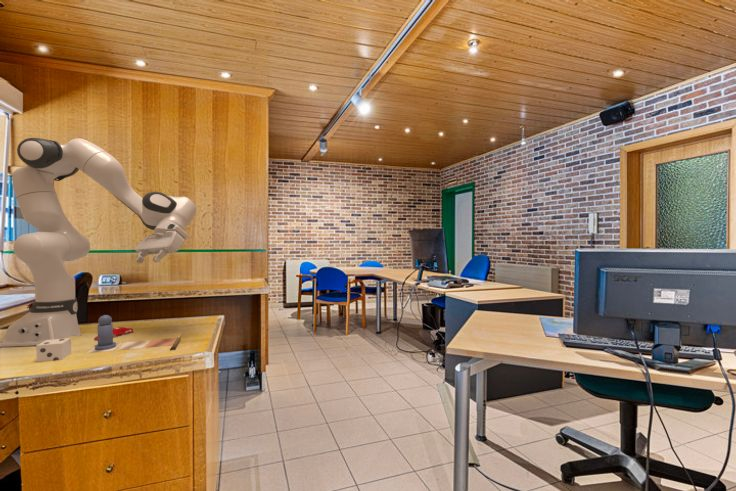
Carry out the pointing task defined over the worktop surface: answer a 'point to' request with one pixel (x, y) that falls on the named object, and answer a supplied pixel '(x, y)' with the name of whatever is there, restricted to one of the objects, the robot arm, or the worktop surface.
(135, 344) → the board
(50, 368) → the worktop surface
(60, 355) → the die
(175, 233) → the robot arm
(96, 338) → the race car
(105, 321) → the pawn
